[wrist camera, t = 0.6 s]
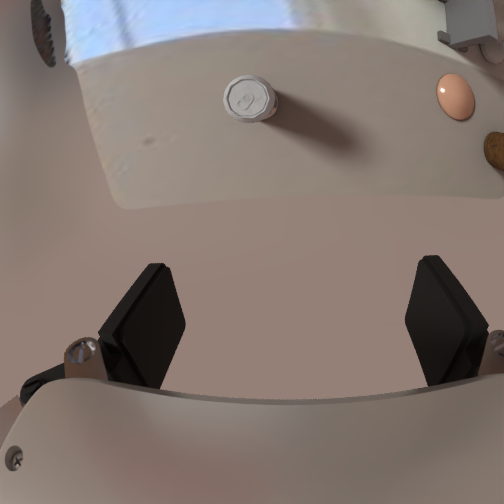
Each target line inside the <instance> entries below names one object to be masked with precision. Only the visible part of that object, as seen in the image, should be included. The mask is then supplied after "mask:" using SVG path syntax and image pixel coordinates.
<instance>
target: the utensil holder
mask: <svg viewBox="0 0 504 504" xmlns="http://www.w3.org/2000/svg"><path fill="white" fill-rule="evenodd" d="M484 153H485V157H486V159H487V161H488V162H489V163H490V164H491V165H492V166H494V167H496V168H498V169H500V170H502V171H504V133H500V132H491V133H490V134H488V136H487V137H486V139H485V142H484Z"/></svg>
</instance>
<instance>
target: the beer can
mask: <svg viewBox="0 0 504 504" xmlns="http://www.w3.org/2000/svg"><path fill="white" fill-rule="evenodd" d="M224 105H225V108H226V110H227V112H228V113H229V114H230V115H231V116H232V117H233V118H234V119H236V120H238V121H240V122H245V123H253V122H258V121H261V120H265V119H267V118H269V117H271V116H272V115H273V114H274V113H275V112H276V110H277V108H278V98H277V95H276V93H275V92H274V90H273V88H272V87H271V85H270V84H269V83H268V82H267V81H266V80H265V79H263V78H261V77H259V76H255V75H244V76H240V77H238V78H236V79H234V80H233V81H232V82H231V83H230V84H229V85H228V86H227V88H226V90H225V93H224Z"/></svg>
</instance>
